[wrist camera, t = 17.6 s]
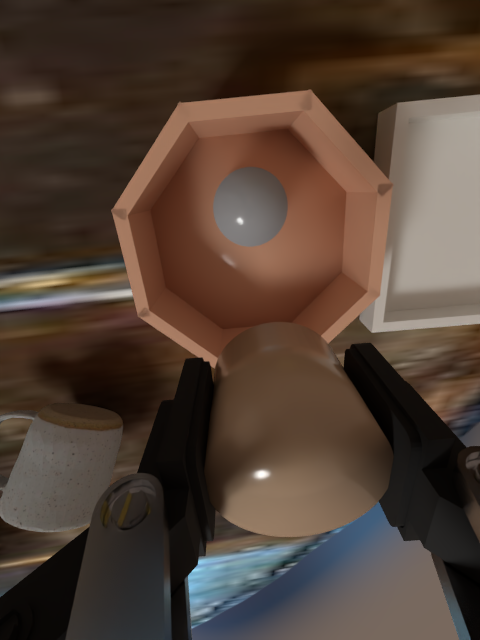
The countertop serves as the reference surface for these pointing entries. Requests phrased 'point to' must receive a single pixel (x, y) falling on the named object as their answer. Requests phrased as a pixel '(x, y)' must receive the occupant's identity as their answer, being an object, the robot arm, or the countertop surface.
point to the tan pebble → (291, 436)
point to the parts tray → (430, 215)
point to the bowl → (271, 257)
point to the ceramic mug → (61, 467)
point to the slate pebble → (250, 206)
